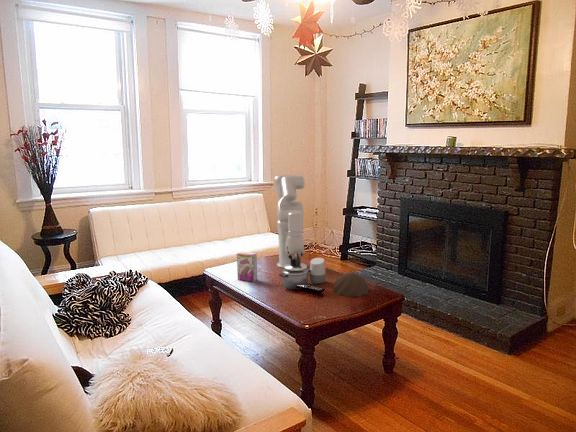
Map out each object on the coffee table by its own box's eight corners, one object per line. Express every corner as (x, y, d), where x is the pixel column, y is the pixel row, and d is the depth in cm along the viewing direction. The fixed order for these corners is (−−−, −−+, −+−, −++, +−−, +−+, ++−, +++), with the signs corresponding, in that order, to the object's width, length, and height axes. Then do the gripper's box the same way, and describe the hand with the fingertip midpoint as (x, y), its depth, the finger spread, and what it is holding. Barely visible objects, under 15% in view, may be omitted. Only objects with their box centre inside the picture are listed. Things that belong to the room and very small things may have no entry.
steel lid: (279, 266, 249) (279, 257, 248) (298, 263, 256) (298, 254, 255) (292, 272, 239) (291, 262, 238) (311, 268, 245) (311, 259, 244)
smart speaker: (306, 282, 254) (305, 259, 251) (316, 278, 260) (316, 256, 258) (318, 286, 247) (318, 262, 245) (328, 282, 254) (328, 258, 251)
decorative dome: (376, 291, 237) (377, 274, 236) (350, 300, 226) (350, 281, 224) (351, 282, 253) (351, 266, 251) (325, 290, 241) (325, 272, 240)
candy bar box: (237, 280, 261) (236, 253, 258) (241, 277, 265) (240, 251, 262) (253, 282, 256) (252, 255, 253) (257, 279, 261) (256, 253, 258)
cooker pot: (302, 278, 260) (302, 264, 259) (316, 285, 248) (316, 270, 247) (274, 285, 250) (274, 270, 249) (288, 292, 238) (288, 276, 237)
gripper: (303, 230, 251) (303, 261, 255) (279, 234, 243) (279, 266, 246) (310, 233, 245) (311, 264, 248) (286, 236, 237) (286, 269, 240)
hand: (295, 265), depth 247 cm, fingers closed on steel lid, 2 cm apart
